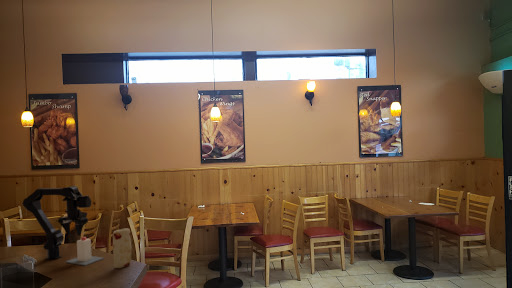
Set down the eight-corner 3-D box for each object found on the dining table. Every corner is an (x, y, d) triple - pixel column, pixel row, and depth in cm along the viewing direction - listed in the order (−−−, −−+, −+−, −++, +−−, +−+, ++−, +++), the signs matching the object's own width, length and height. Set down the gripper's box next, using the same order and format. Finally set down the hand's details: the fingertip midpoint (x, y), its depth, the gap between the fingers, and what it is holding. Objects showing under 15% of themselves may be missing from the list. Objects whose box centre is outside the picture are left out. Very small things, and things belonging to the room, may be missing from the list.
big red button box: (77, 260, 207) (76, 238, 207) (84, 257, 211) (83, 236, 211) (84, 261, 205) (83, 238, 205) (91, 258, 210) (90, 236, 210)
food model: (117, 270, 189) (115, 231, 189) (111, 268, 194) (109, 229, 193) (134, 265, 197) (133, 227, 196) (128, 262, 201) (126, 226, 201)
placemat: (65, 262, 206) (65, 261, 206) (84, 256, 217) (84, 254, 217) (85, 265, 199) (85, 264, 199) (103, 258, 210) (103, 257, 210)
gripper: (95, 206, 217) (96, 232, 218) (73, 205, 226) (75, 230, 226) (78, 209, 208) (80, 237, 208) (56, 208, 216) (58, 235, 216)
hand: (73, 235), depth 215 cm, fingers open, 9 cm apart
